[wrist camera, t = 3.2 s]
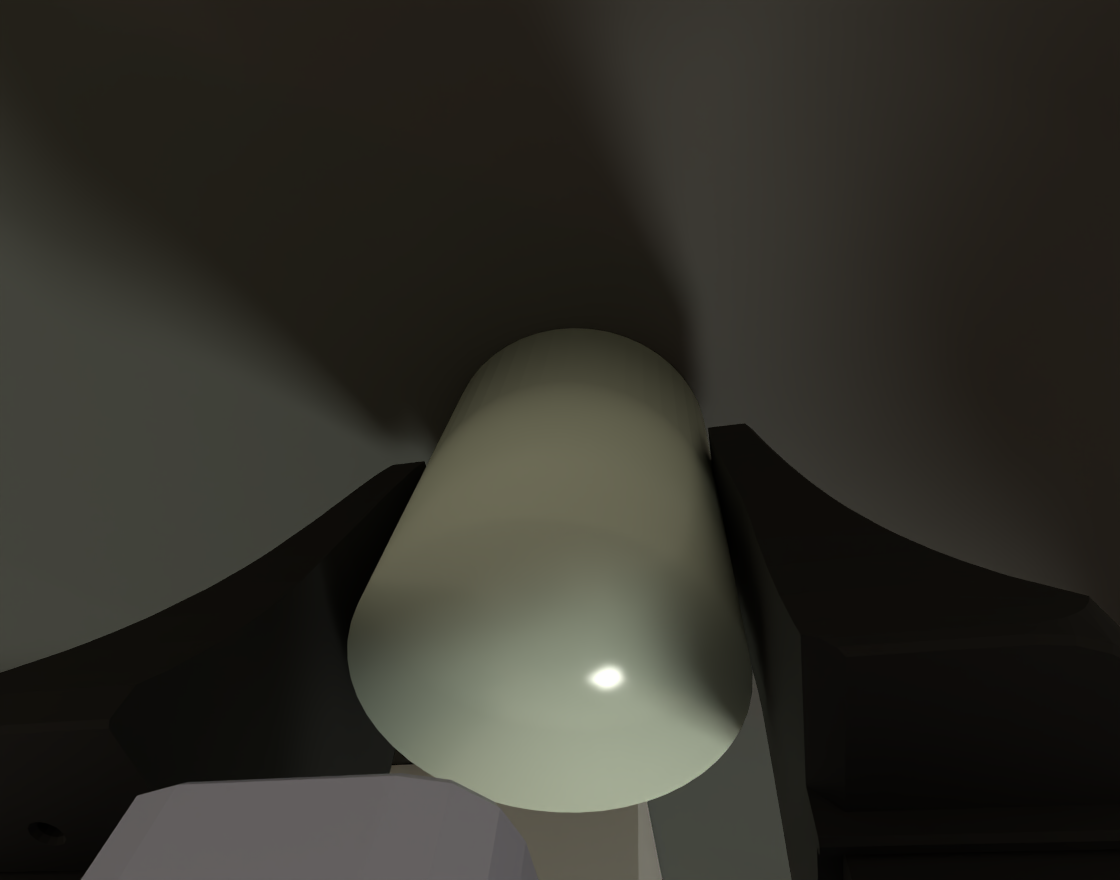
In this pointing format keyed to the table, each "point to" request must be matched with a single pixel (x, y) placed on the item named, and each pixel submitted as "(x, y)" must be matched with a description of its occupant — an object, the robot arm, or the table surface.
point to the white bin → (583, 841)
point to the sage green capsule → (560, 587)
